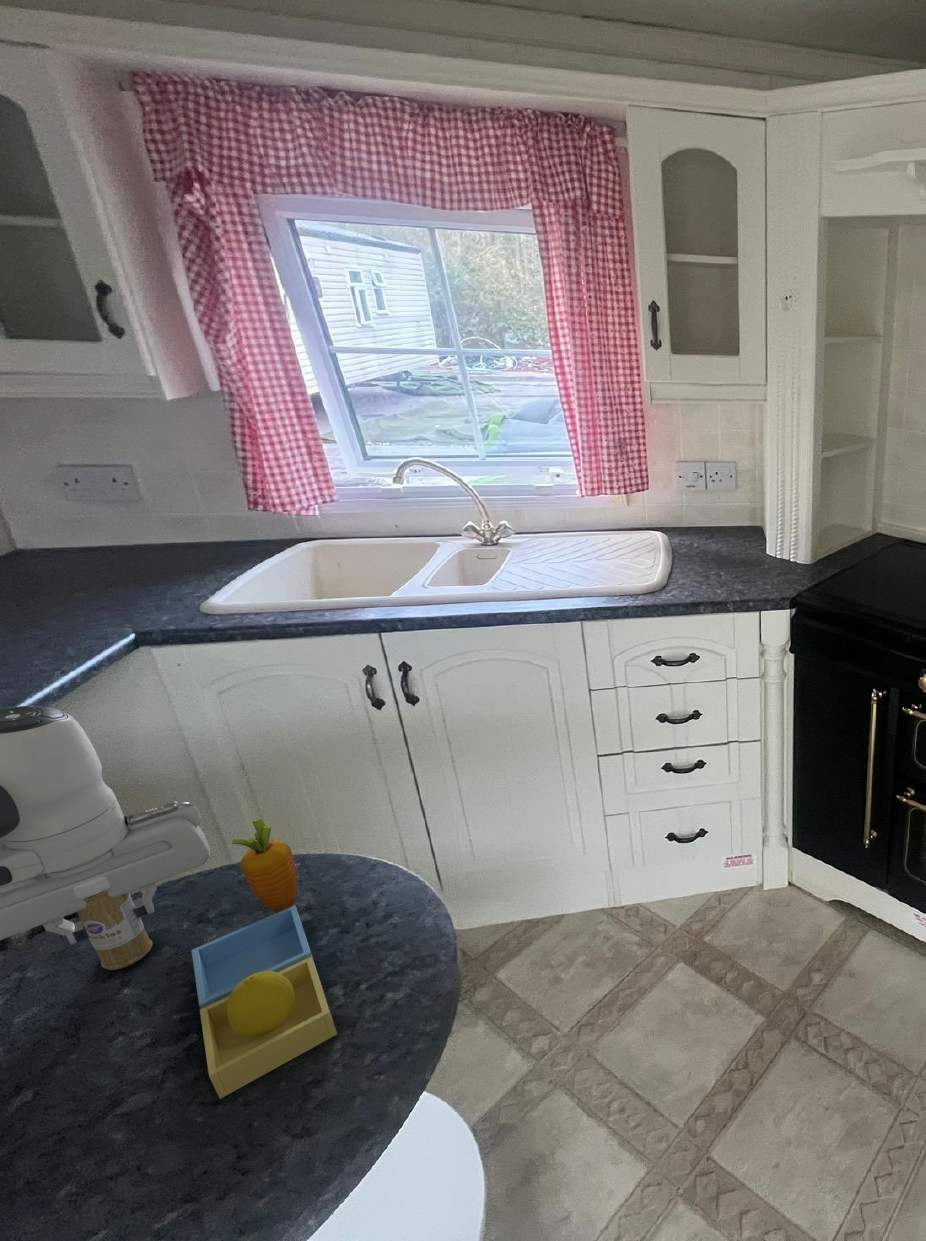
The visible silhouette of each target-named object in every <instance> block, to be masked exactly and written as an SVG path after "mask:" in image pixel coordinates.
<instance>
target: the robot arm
mask: <svg viewBox="0 0 926 1241" xmlns="http://www.w3.org/2000/svg"><path fill="white" fill-rule="evenodd" d="M93 745H94V744H92V742H91V740H90V738H89V736H88V735H87V733H86V732H85V730H84V729H83V727H82V726H81V724H80V723H79V722H78V721H77V720H76V719H75V718H74V717H73V716H72V715H70V714H68V712H66V711H64V710H62V709H59V708H55V707H51V706H44V705H43V706H41V705H39V706H38V705H18V706H11V707H4V708H0V941H3V940H5V939H8V938H10V937H13V936H16V935H18V934H21V933H23V932H27V931H29V930H32V929H35V928H37V927H40V926H43V928H44V930H45V931H46V932H50V933H54V934H57V935H60V936H65V937H66V939H67V940H68V943H69V944H70V945H74V944H77V943H80V942H82V941H85V940H88V939H89V936H88V934H87V933H86V929H85V927H84V925H83V923H82V921H81V920H78V921H76V922H73V921H70V920H68V919H65V917H66V916H69V915H73V914H74V913H77V912H78V911H80V910H83V909H85V908H86V902H85V901H83V900H84V899H86V898H88V897H85V898H79V899H78V898H77V897H76V895H75V893H74V891H73V888H74V887H75V886H77V885H79V884H82V883H85V882H87V881H90V880H93V879H96V878H99V877H107V879H108V881H109V883H110V886H111V887H110V888H108V889H106V890H105V891H108V896H111V897H113V898H115V897H118V896H120V895H123V894H126V893H129V894H130V893H131V892H134V891H137V890H139V892H140V894H141V897H139V898H136V899H134V900H133V903H134V907H133V910H134V912H135V913H136V916H137V918H143V917H145V916H148V915H150V914H153V913H155V906H154V903H153V899H154V896H155V894H156V892H157V890H158V882H161V881H163V880H166V879H169V878H171V877H174V876H176V875H180V874H182V873H185V872H187V871H190V870H193V869H196V868H198V867H201V866H203V865H205V864H206V863H207V862H208V860H209V858H210V856H211V848H210V845H209V841H208V839H207V837H206V835H205V833H204V832H203V829H202V828H201V826H199V825H200V823H201V821H202V815H201V812H200V810H199V807H197V805H195V803H191V802H187V801H186V802H185V801H184V802H177V801H171V802H166V803H164V804H162V805H160V806H157V807H154V808H150V809H145V810H142V811H139V812H135V813H132V814H129V815H124V813H123V810H122V808H121V806H120V803H119V801H118V799H117V797H116V794H115V792H114V791H113V790H112V788H110V787H109V786H108V785H107V784H106V783H105V782H104V779H103V765H102V762H101V761H100V758H99V755H98V753H97V751H96V749H95V747H94V746H93Z"/></svg>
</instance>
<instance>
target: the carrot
mask: <svg viewBox="0 0 926 1241" xmlns="http://www.w3.org/2000/svg"><path fill="white" fill-rule="evenodd" d="M252 825H253V827H254V830H255V833H254V834H253V835H254V837H250V838H249V839H247V840H246V839H241V838H234V839H233V840H232V841H231V843H232V845H241V846H245V847H246V848H249V849H247V851H246V852H245V853H244V855H243V856H242V858H241V860H240V869H241V871H242V873H243V876H244V878H245V880H246V882H247V884H248V886H249V888H250V890H251V891H252V892H253V894H254V895H255V896H256V898H257V899H258V900H259V902H260V903H262V905H264V906H265V907H266V908H267V909H268V910H270V911H272V912H273V913H274V914H276V913H278V912H280V911H283V910H285V909H287V908H290V907H292V906H294V905H295V902H296V900H297V899H296V898H297V895H298V894H297V893H298V871H297V867H296V863H295V859H294V856H293V852H292V848H291V846H290V845H289V844H288V843H286V842H284V841H282V840H280V839H271V840H270V836H271V831H272V826H270V825H266V824H265V822H264V820H263V819H262V818H255V819H254V820H253V821H252Z"/></svg>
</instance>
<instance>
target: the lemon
mask: <svg viewBox="0 0 926 1241" xmlns="http://www.w3.org/2000/svg"><path fill="white" fill-rule="evenodd" d="M294 1002H295V993H294V990H293V987H292V985H291V983H290V981H289V980H288V979H287V978H286V977H284V976H283V975H282V974H280V973H278V972H274V971H262V972H258V973H255V974H253V975H250V976H249V977H247V978H245V979H244V980H243V981H241V982H240V983H239V984H238V985H237V986H236V987H235V988H234V990H233V991H232V993H231V995H230V997H229V1000H228V1003H227V1017H228V1021H229V1023H230V1025H231V1026H232V1028H233V1029H234V1030H235V1031H236V1032H237V1033H239V1034H241V1035H243V1036H246V1037H259V1036H263V1035H266V1034H268V1033H271V1032H272V1031H274V1030H276V1029H277V1028H278V1027H280V1026H281V1025H282V1024H283V1023H284V1022H285V1021H286V1020H287V1018H288V1017H289V1015H290V1014H291V1012H292V1009H293V1007H294Z"/></svg>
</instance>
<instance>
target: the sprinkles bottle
mask: <svg viewBox="0 0 926 1241" xmlns="http://www.w3.org/2000/svg"><path fill="white" fill-rule="evenodd" d="M110 887H111V886H110V883H109V881H108V879H107V877H99V878H96V879H93V880H90V881H87V882H85V883H82V884H79V885H77V886H75V887H74V888H73V891H74V893H75V895H76V897H77V898H78V899H79V898H85V897H88V898H86V899H84V900H83V901H85V902H86V908H85V909H83V910H80V911H78V912H76V913H77V914H78V917H79V920H80V921H82V923H83V925H84V927H85V929H86V933H87V934H88V936H89V938H88V939H89V941H90V943H91V946H92V947H93V949H94V950H95V952H96V954H97V956H98V958H99V960H100V966H101V967H102V968H103V969H105V970H108V971H109V970H110V971H115V970H120V969H124V968H126V967H129V966H133V964H136V963H138V961H140V960H141V959H143V958H144V957H145V956H147V955H148V953H149V952H150V951H151V950H152V947H153V945H154V943H153V940H152V939H151V938H149V935H148V933H147V931H146V929H145V926H144V922H143V920H142V917H140V918H137V916H136V913H135V912H134V910H133V907H134V903H133V901H134V900H133V898H132V896H131V894H130V892H129V893H126V894H123V895H120V896H118V897H115V898H113V897H111V896H108V891H105V890H106V889H108V888H110Z"/></svg>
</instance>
